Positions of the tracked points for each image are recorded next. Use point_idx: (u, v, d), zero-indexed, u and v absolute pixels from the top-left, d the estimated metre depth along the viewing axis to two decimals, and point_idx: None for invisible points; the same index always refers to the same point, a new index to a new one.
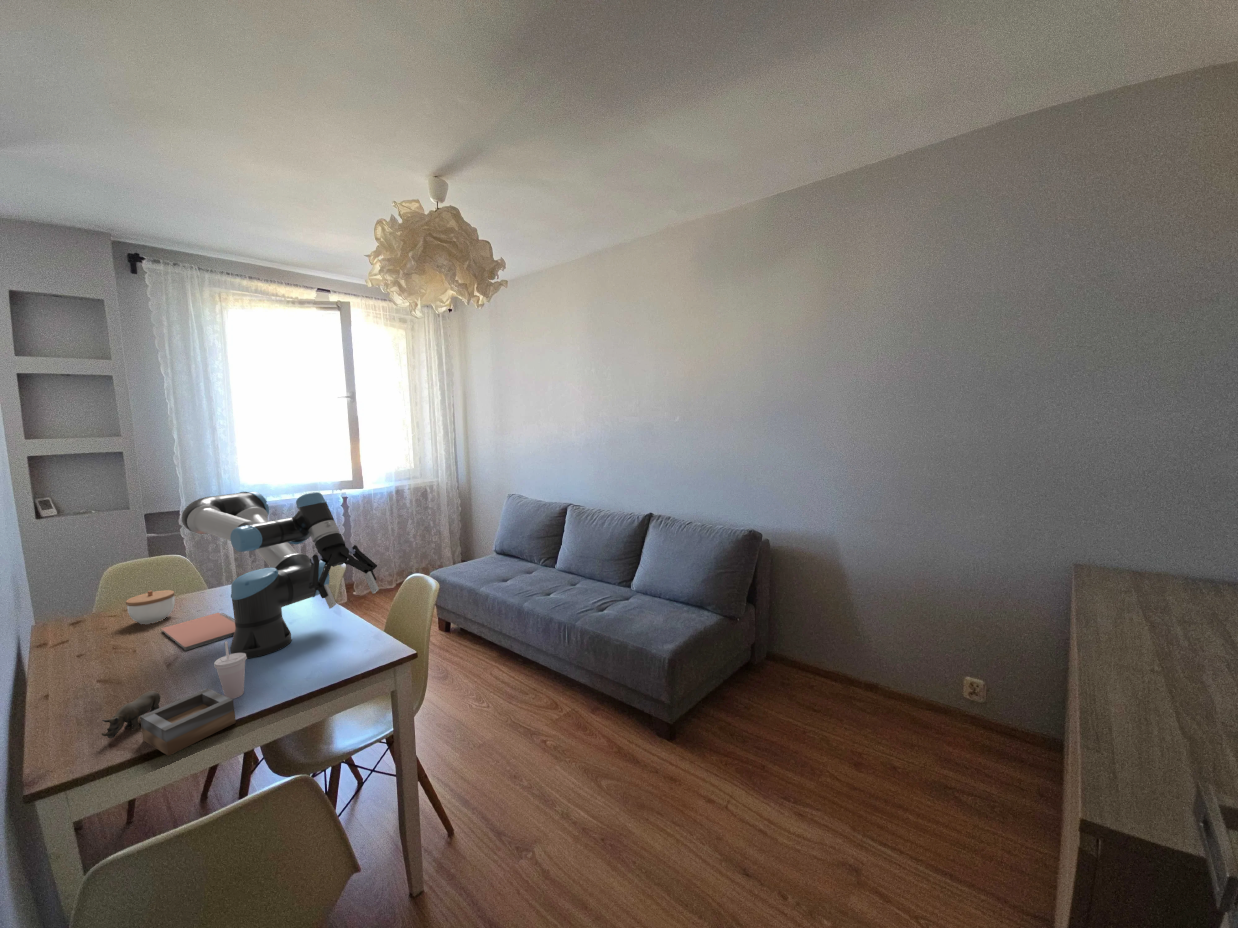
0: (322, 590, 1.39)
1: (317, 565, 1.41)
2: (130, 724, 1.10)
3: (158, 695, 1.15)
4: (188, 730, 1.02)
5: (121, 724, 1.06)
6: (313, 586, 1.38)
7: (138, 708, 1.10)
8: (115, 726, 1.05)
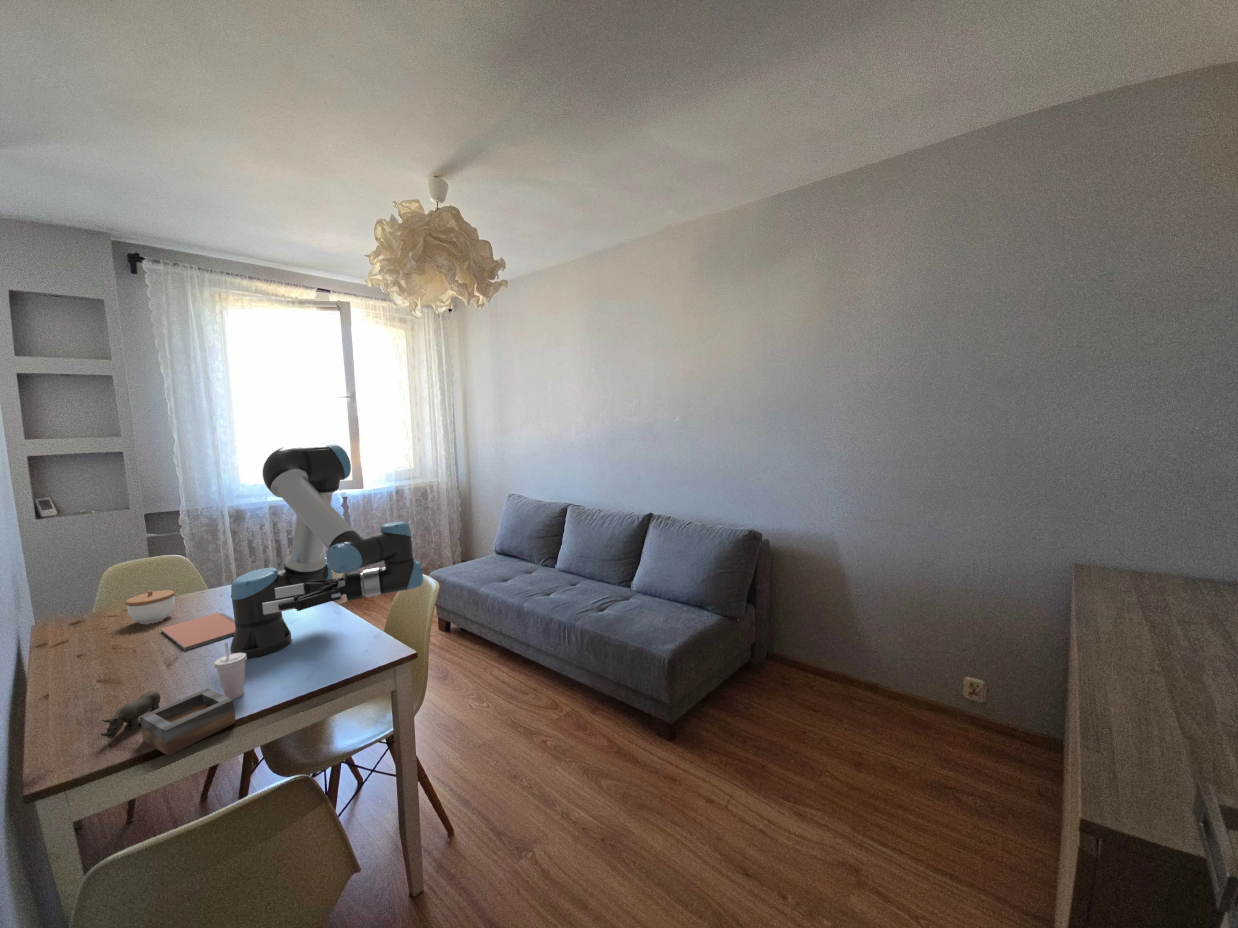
0: None
1: None
2: (130, 724, 1.10)
3: (158, 695, 1.14)
4: (188, 730, 1.02)
5: (120, 724, 1.06)
6: (296, 607, 1.18)
7: (138, 709, 1.09)
8: (114, 726, 1.05)
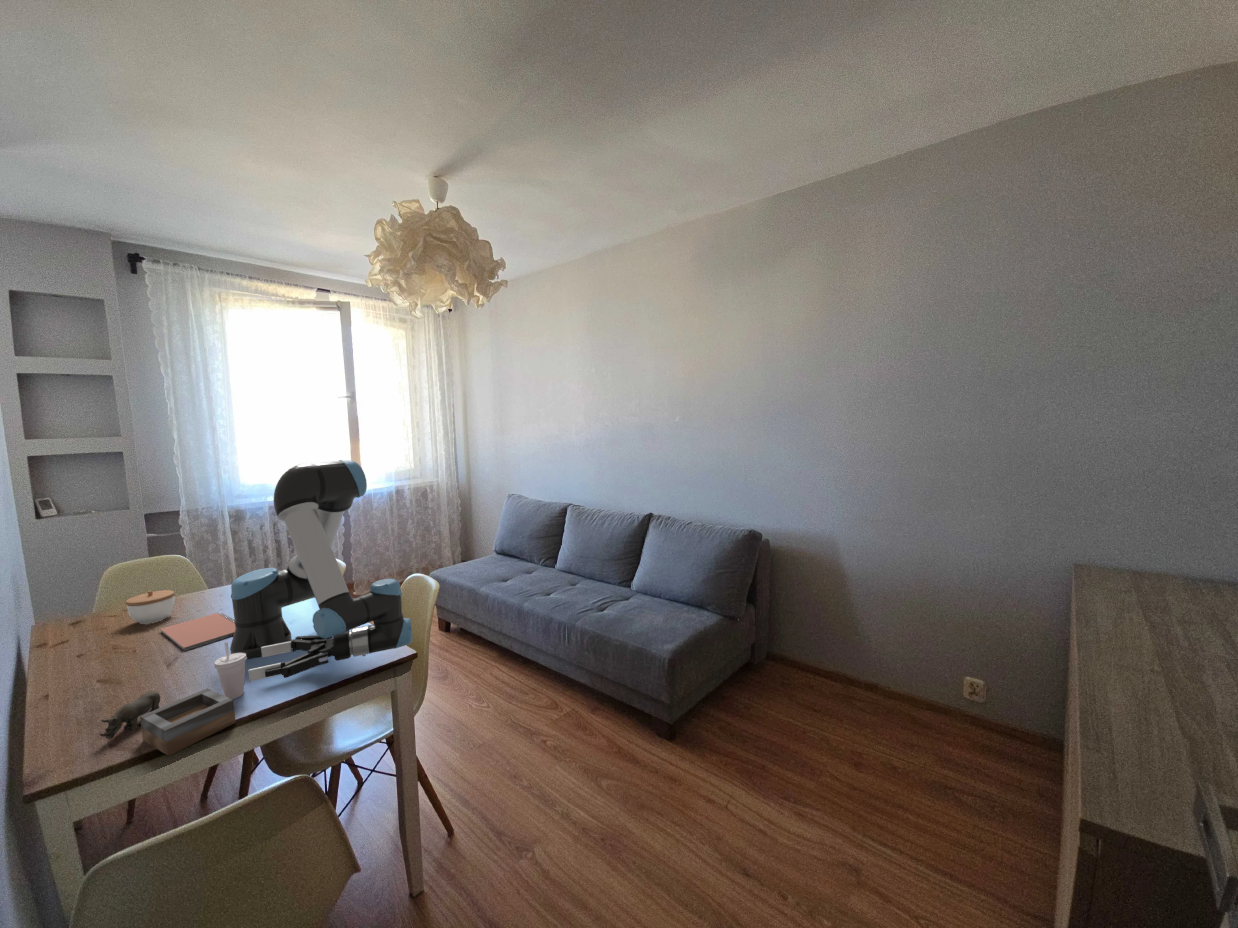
0: None
1: None
2: (129, 724, 1.10)
3: (158, 695, 1.14)
4: (188, 730, 1.02)
5: (119, 724, 1.06)
6: (283, 674, 1.17)
7: (137, 709, 1.09)
8: (113, 726, 1.05)
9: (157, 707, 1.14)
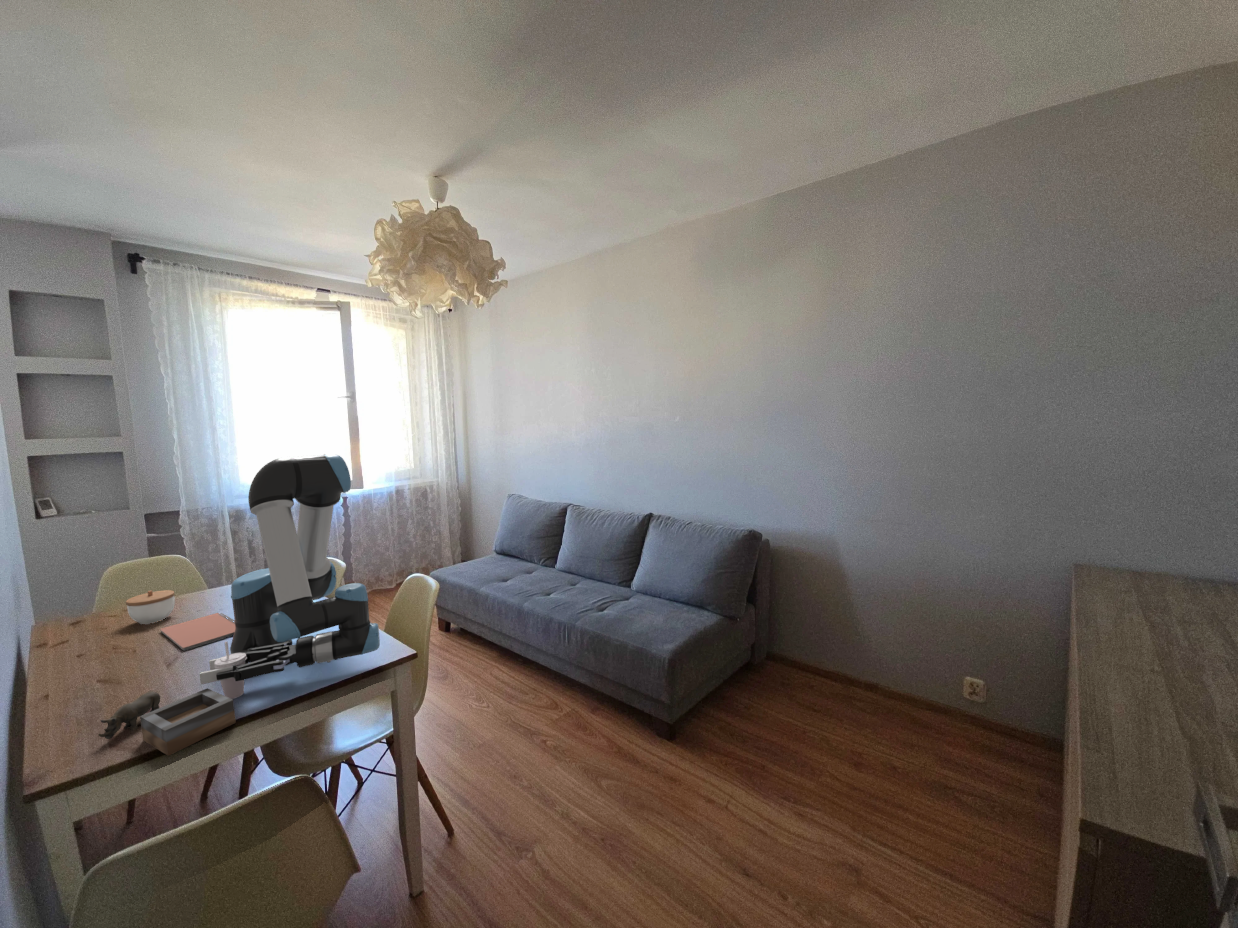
0: None
1: None
2: (129, 725, 1.10)
3: (158, 696, 1.14)
4: (188, 730, 1.02)
5: (119, 725, 1.06)
6: (234, 677, 1.16)
7: (137, 709, 1.09)
8: (112, 727, 1.05)
9: (157, 707, 1.14)
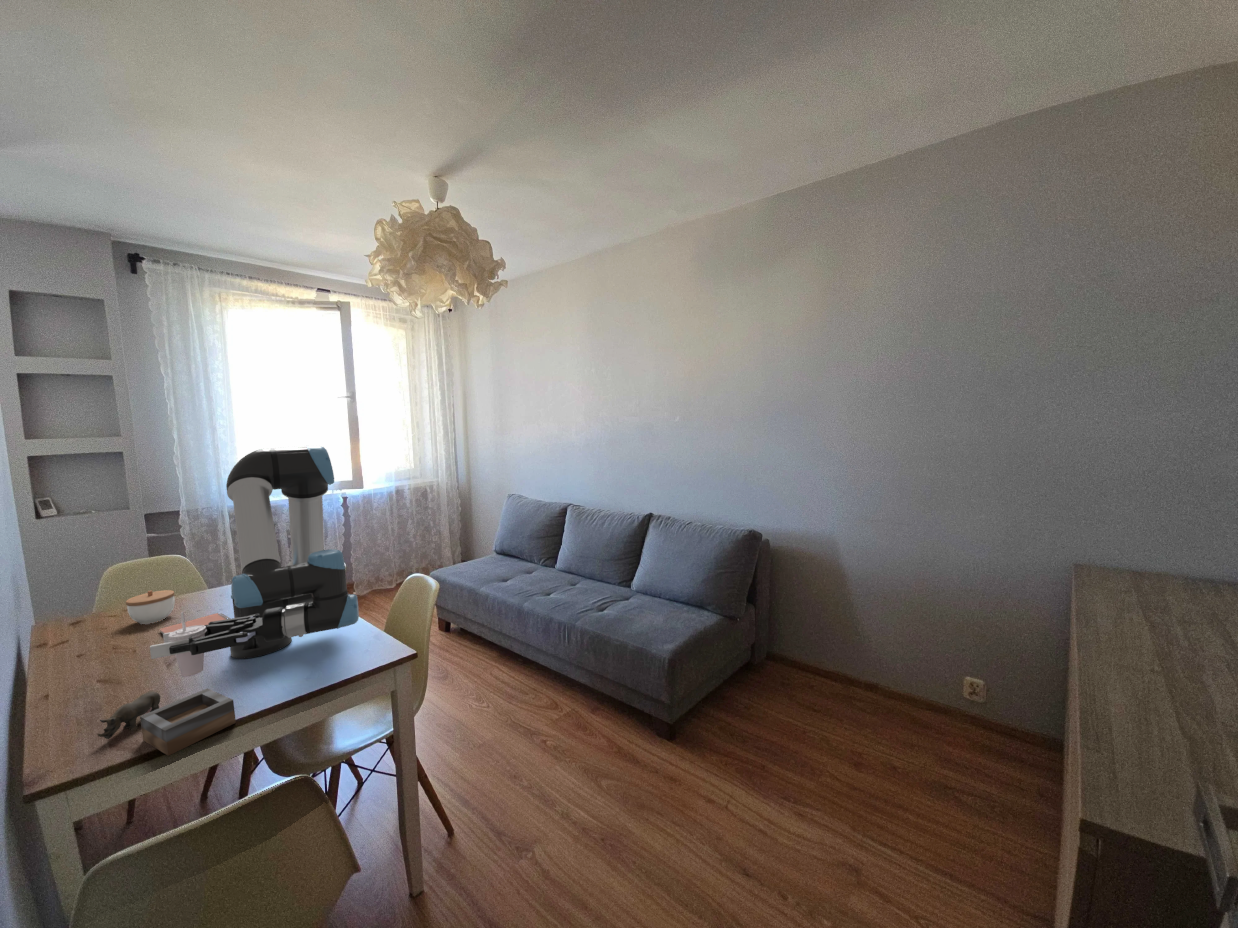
0: (181, 651, 1.03)
1: None
2: (129, 724, 1.10)
3: (158, 696, 1.14)
4: (188, 730, 1.02)
5: (118, 725, 1.06)
6: (190, 651, 1.02)
7: (136, 709, 1.09)
8: (112, 727, 1.05)
9: (157, 707, 1.14)
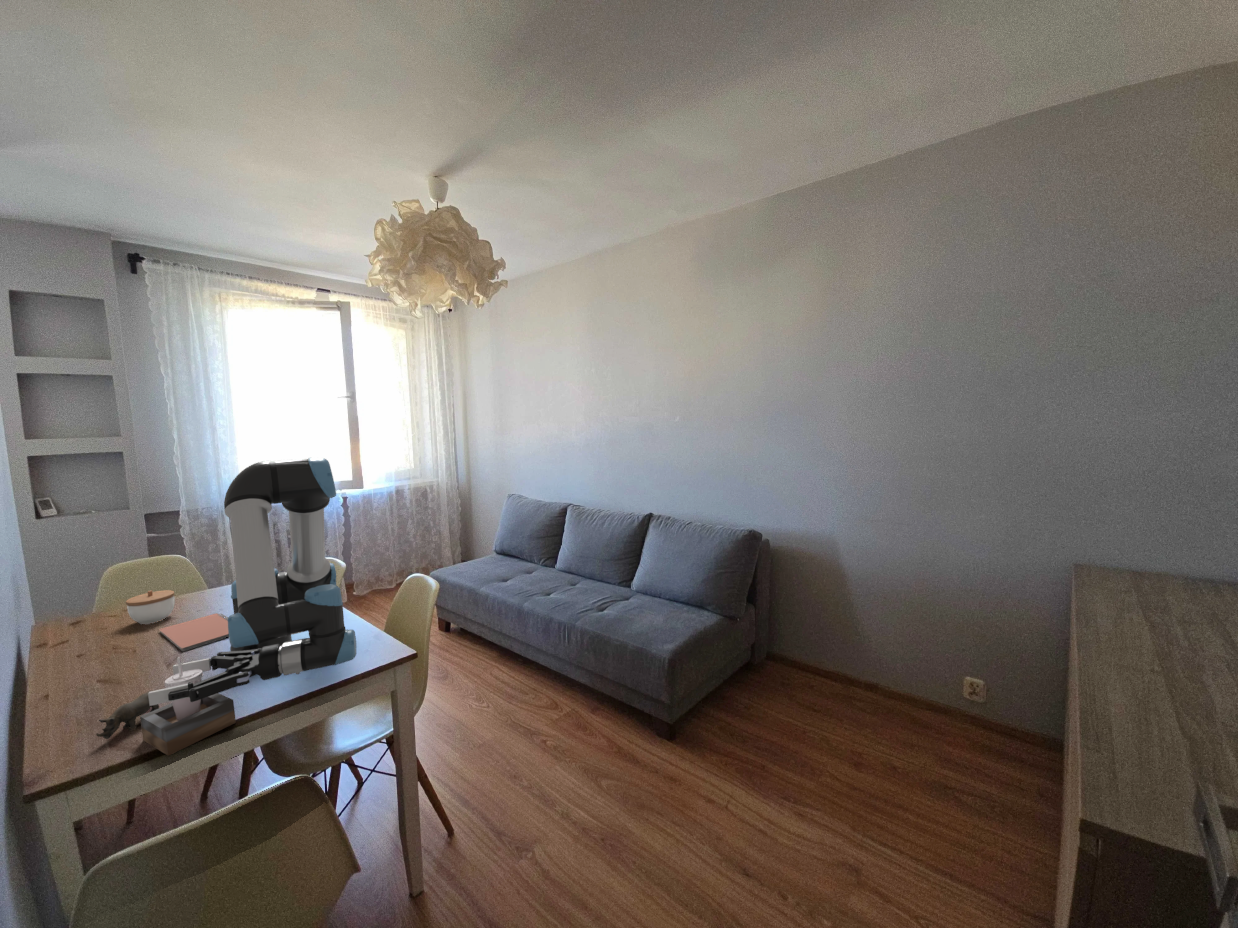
0: None
1: None
2: (128, 724, 1.10)
3: None
4: (188, 730, 1.02)
5: (117, 725, 1.06)
6: (189, 697, 0.99)
7: (135, 709, 1.09)
8: (111, 727, 1.05)
9: (157, 707, 1.14)
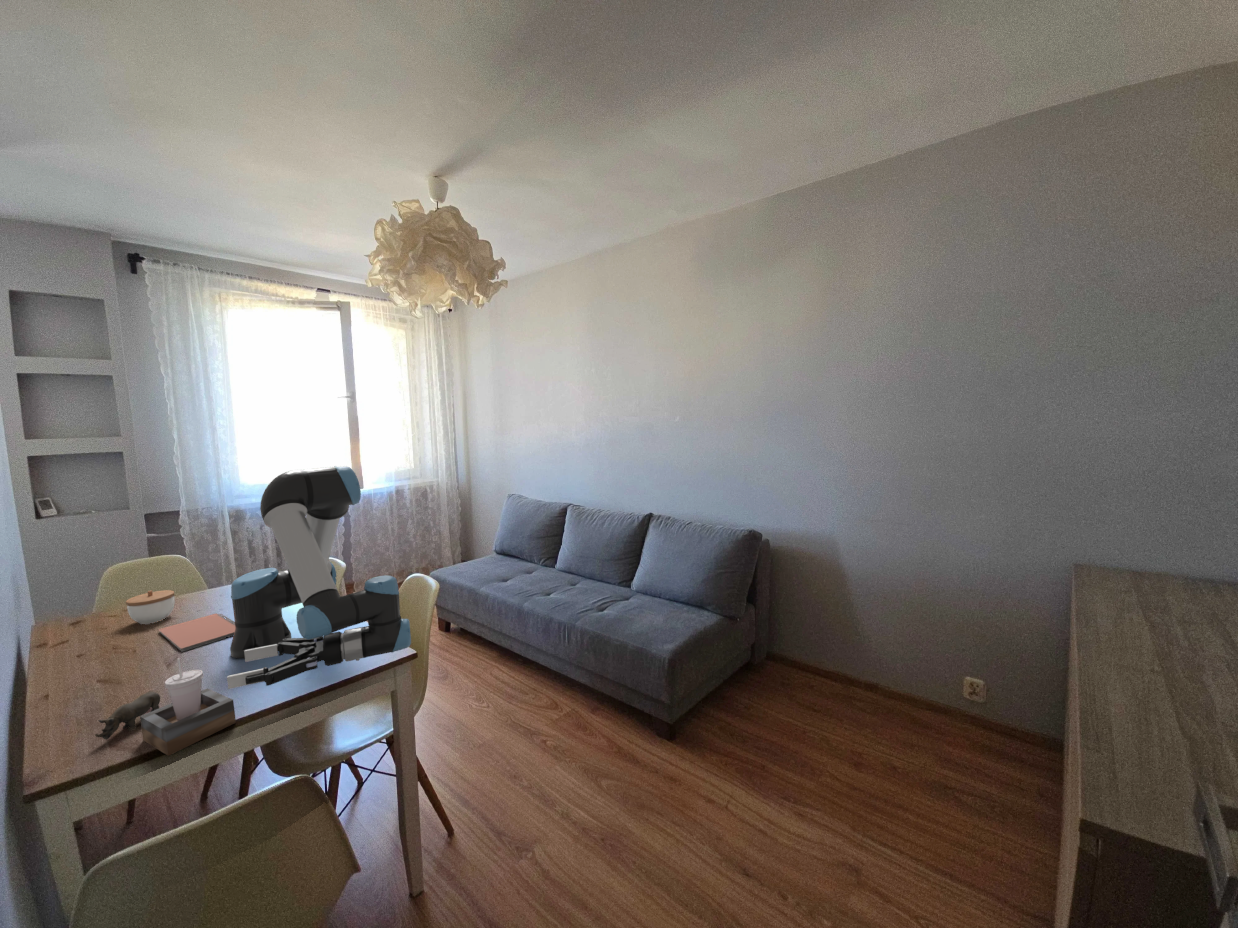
0: None
1: None
2: (128, 725, 1.10)
3: (157, 696, 1.14)
4: (188, 730, 1.02)
5: (116, 725, 1.06)
6: (265, 681, 1.05)
7: (135, 710, 1.09)
8: (110, 727, 1.05)
9: (157, 708, 1.14)
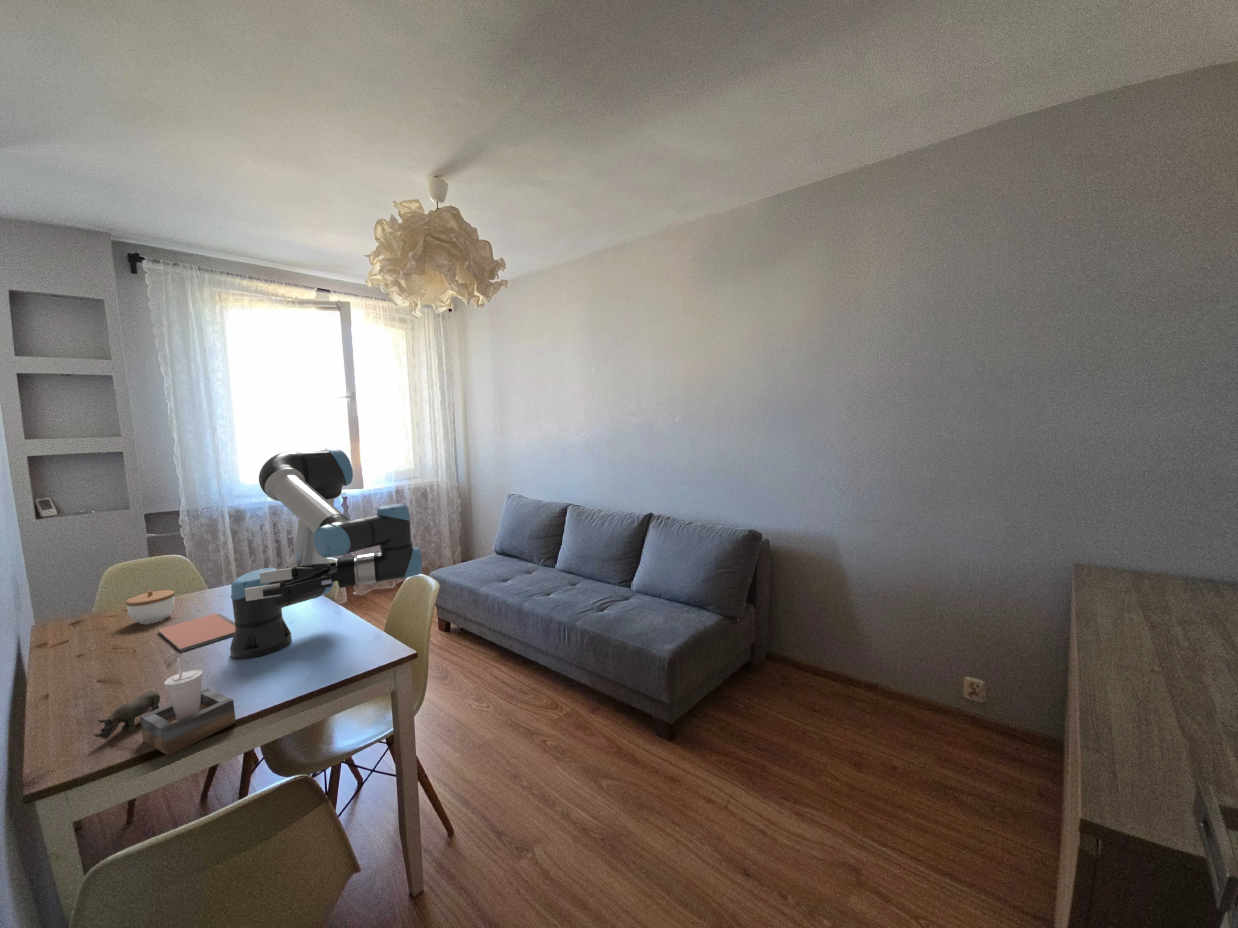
0: (273, 594, 1.08)
1: None
2: (128, 724, 1.10)
3: (157, 696, 1.14)
4: (188, 730, 1.02)
5: (115, 725, 1.06)
6: (282, 594, 1.07)
7: (134, 709, 1.09)
8: (109, 727, 1.05)
9: (156, 708, 1.14)
